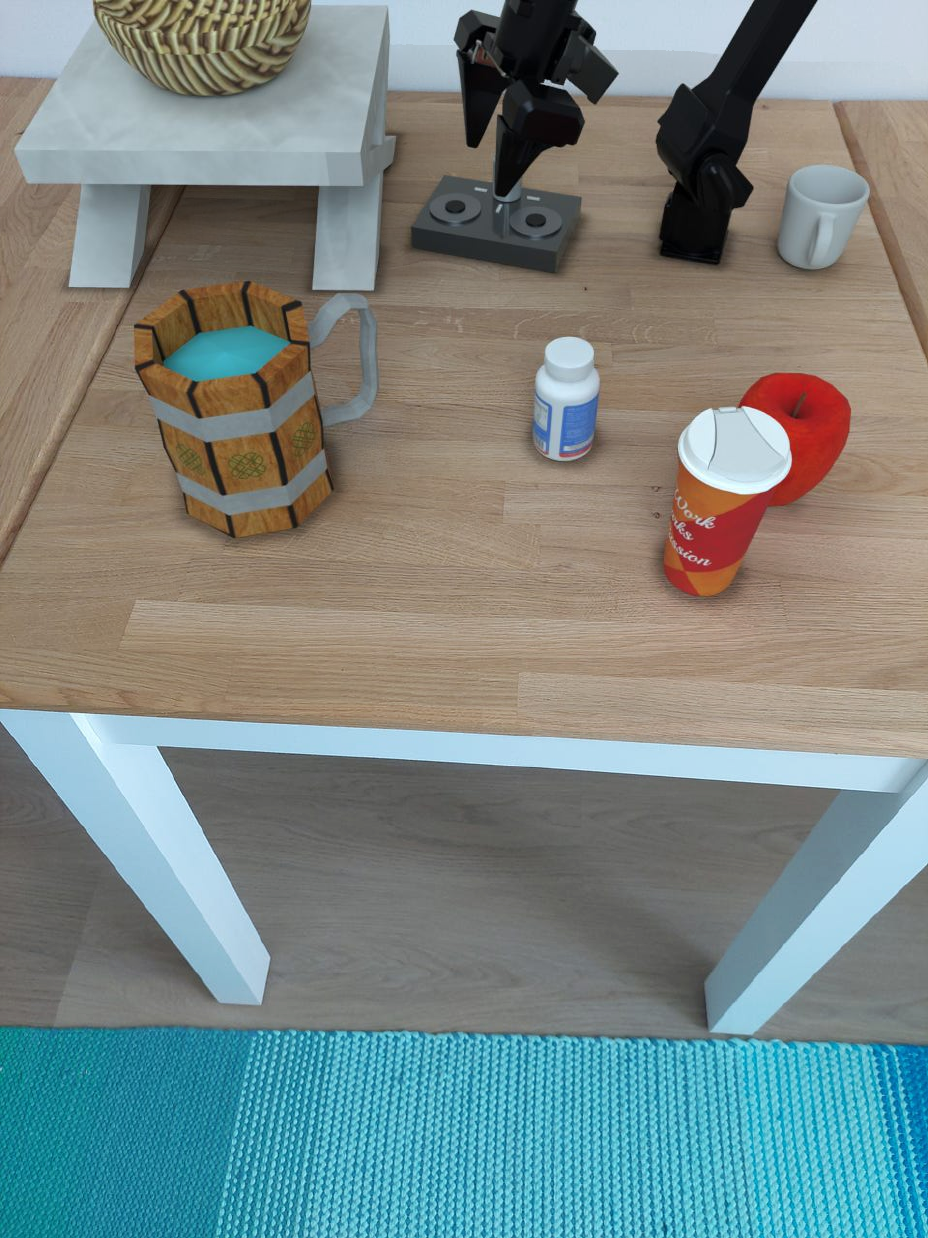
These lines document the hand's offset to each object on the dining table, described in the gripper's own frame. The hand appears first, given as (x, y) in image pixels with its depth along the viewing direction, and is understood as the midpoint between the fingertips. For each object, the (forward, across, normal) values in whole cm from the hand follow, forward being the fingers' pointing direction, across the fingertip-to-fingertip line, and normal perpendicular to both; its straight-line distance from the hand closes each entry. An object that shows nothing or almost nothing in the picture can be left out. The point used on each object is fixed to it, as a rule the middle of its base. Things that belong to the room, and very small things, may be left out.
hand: (485, 170), depth 87 cm
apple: (+7, -35, -18) cm, 40 cm away
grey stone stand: (+19, +22, +16) cm, 33 cm away
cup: (+1, -6, -36) cm, 36 cm away
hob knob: (+7, +12, -9) cm, 16 cm away
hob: (+10, +9, -8) cm, 15 cm away
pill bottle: (+12, -24, -4) cm, 27 cm away
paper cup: (+10, -42, -9) cm, 44 cm away
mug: (+20, -21, +19) cm, 34 cm away
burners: (+8, +9, -7) cm, 14 cm away
